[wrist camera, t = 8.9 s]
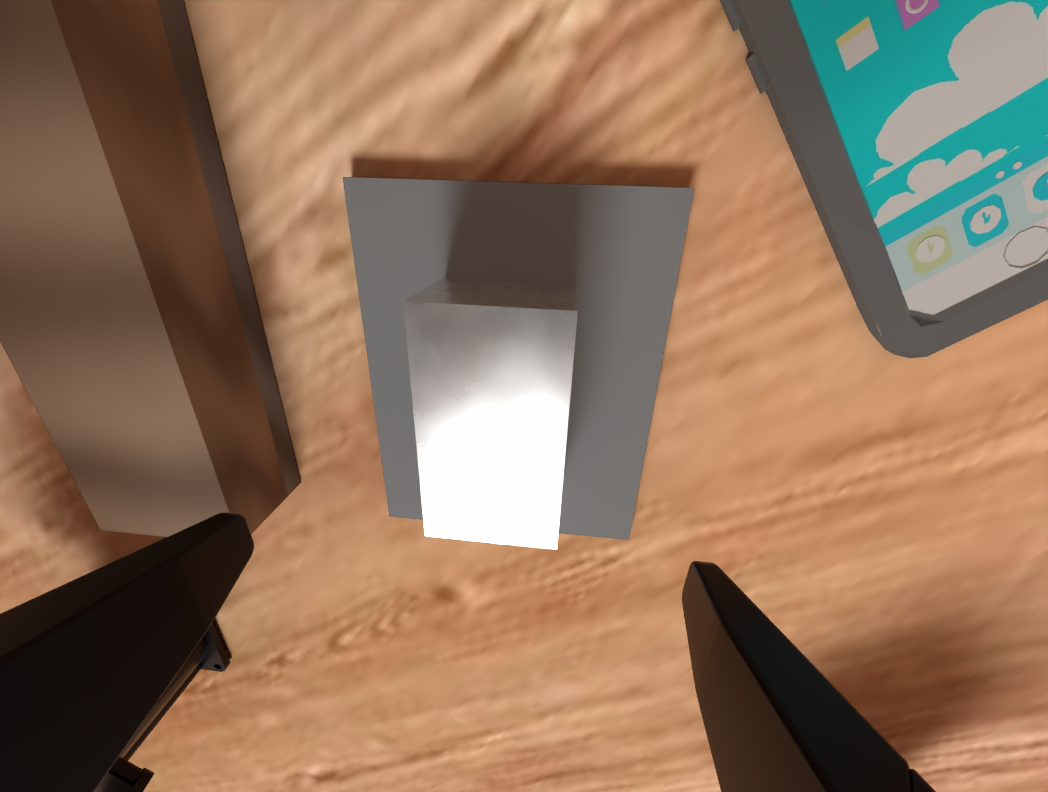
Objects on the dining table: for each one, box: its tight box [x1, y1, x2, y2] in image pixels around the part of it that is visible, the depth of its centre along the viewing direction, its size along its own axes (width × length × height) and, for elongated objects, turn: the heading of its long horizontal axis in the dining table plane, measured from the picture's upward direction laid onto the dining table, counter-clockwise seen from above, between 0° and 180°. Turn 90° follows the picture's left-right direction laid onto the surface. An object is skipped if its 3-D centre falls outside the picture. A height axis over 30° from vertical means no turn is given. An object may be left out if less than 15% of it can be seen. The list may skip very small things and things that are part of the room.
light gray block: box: [403, 276, 578, 550], centre depth 14 cm, size 8×4×4 cm, turn 178°
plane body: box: [0, 0, 301, 537], centre depth 13 cm, size 18×6×6 cm, turn 178°
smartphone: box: [720, 0, 1048, 358], centre depth 11 cm, size 9×1×15 cm
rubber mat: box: [343, 177, 694, 540], centre depth 16 cm, size 14×11×1 cm
